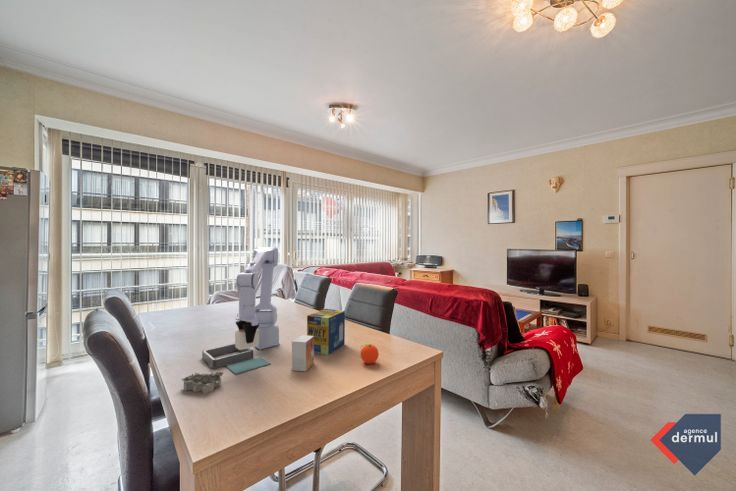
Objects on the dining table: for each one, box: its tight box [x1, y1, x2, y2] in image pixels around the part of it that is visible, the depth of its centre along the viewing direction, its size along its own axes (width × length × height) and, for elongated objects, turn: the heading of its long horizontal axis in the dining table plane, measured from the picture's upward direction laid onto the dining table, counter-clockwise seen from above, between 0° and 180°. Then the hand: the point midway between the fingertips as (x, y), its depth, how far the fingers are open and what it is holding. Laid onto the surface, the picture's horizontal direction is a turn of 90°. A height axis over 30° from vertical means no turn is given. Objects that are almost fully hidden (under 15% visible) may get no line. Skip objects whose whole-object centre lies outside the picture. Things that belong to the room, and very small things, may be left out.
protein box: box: [306, 308, 346, 357], centre depth 128 cm, size 10×15×16 cm
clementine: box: [360, 343, 379, 365], centre depth 113 cm, size 8×7×7 cm
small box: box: [291, 334, 315, 372], centre depth 109 cm, size 8×6×10 cm
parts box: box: [234, 329, 259, 351], centre depth 110 cm, size 4×7×6 cm, turn 134°
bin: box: [201, 343, 254, 370], centre depth 117 cm, size 15×14×3 cm
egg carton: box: [180, 371, 224, 394], centre depth 93 cm, size 11×8×4 cm
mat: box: [225, 356, 271, 376], centre depth 110 cm, size 13×9×1 cm
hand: (247, 341), depth 110 cm, fingers closed on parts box, 4 cm apart
